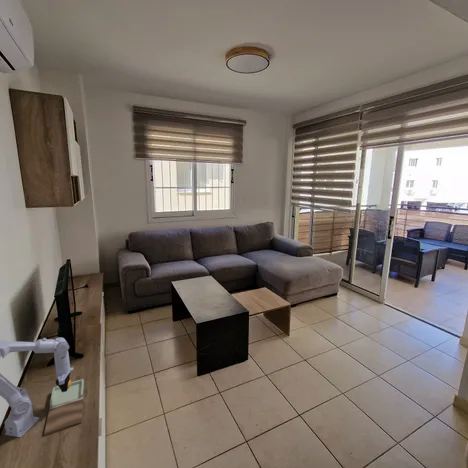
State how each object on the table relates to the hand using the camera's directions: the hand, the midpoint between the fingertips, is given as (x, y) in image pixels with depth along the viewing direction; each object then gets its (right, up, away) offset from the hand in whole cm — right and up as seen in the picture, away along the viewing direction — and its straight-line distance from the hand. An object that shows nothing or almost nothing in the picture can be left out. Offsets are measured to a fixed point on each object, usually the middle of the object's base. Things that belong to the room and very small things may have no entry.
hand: (65, 387), depth 128 cm
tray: (-3, -7, +6) cm, 9 cm away
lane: (+1, -9, 0) cm, 9 cm away
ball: (0, +2, 0) cm, 2 cm away
